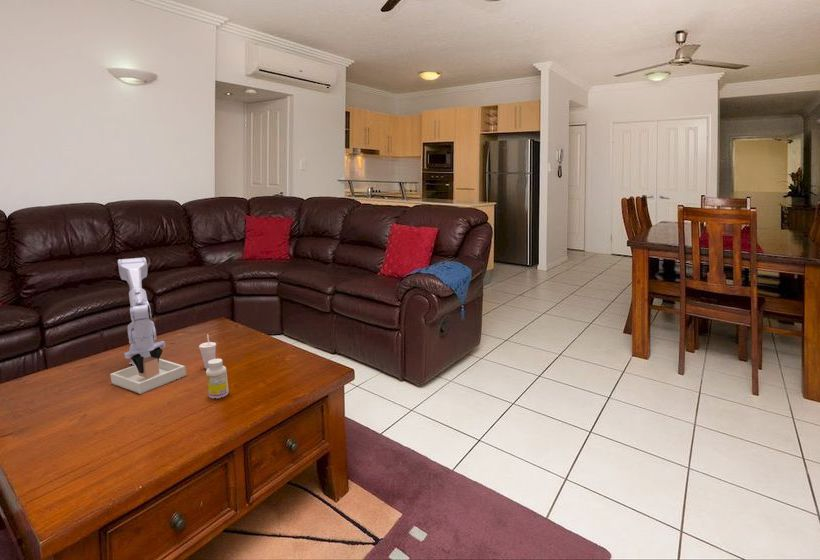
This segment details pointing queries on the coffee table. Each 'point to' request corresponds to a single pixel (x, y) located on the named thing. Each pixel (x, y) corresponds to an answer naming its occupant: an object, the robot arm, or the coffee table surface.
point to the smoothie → (207, 351)
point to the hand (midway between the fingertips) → (148, 370)
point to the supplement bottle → (216, 379)
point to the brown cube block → (150, 367)
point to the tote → (141, 384)
